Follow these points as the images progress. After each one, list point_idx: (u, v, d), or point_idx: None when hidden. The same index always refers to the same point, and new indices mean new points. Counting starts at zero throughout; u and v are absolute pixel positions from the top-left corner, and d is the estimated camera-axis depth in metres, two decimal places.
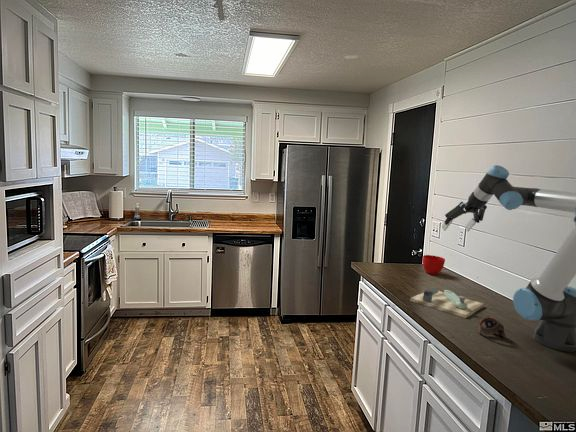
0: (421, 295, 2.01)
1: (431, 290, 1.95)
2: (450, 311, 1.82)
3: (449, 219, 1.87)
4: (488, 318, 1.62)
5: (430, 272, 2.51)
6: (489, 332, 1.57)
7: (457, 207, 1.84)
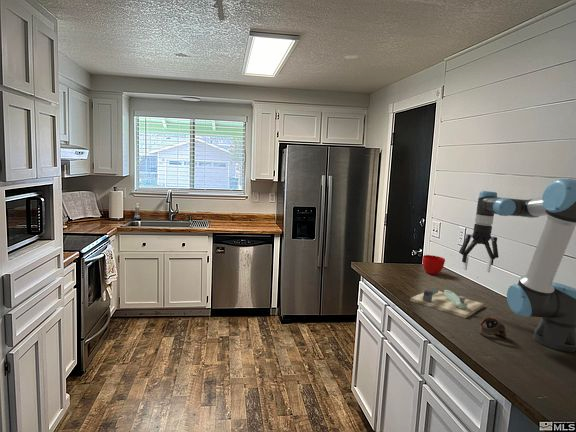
0: (421, 295, 2.01)
1: (431, 290, 1.95)
2: (450, 311, 1.82)
3: (464, 255, 1.91)
4: (489, 318, 1.62)
5: (430, 272, 2.51)
6: (490, 332, 1.57)
7: (465, 240, 1.92)
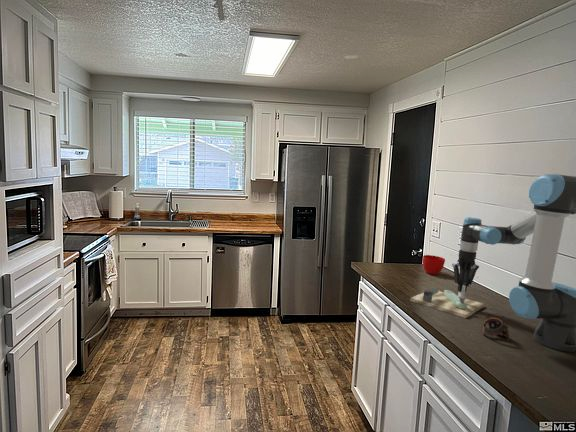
0: (421, 295, 2.01)
1: (431, 290, 1.95)
2: (450, 311, 1.82)
3: (460, 284, 1.94)
4: (492, 319, 1.61)
5: (430, 272, 2.51)
6: (493, 333, 1.56)
7: (454, 270, 1.93)
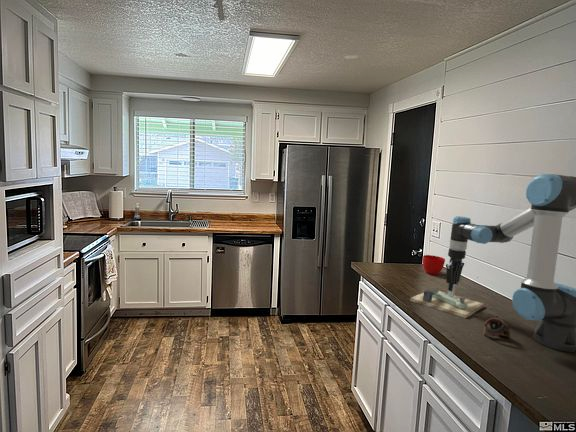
0: (421, 295, 2.01)
1: (431, 290, 1.95)
2: (450, 311, 1.82)
3: (452, 284, 1.93)
4: (493, 319, 1.61)
5: (430, 272, 2.51)
6: (495, 333, 1.56)
7: (448, 270, 1.91)
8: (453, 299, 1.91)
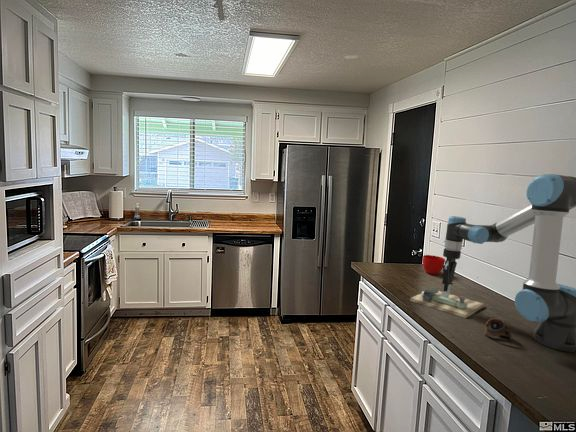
0: None
1: (431, 290, 1.95)
2: (450, 311, 1.82)
3: (447, 284, 1.92)
4: (494, 319, 1.61)
5: (430, 272, 2.51)
6: (496, 334, 1.56)
7: (445, 271, 1.89)
8: (451, 299, 1.90)
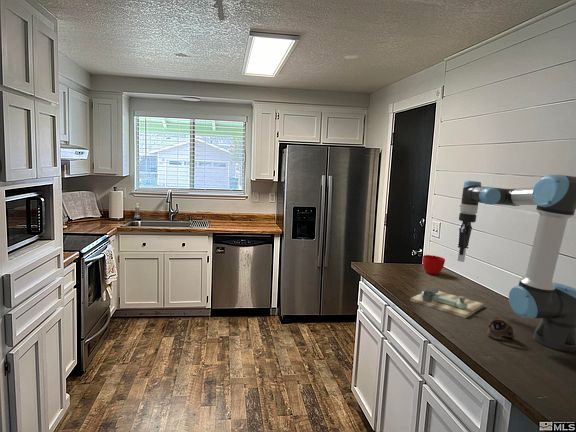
0: None
1: (431, 290, 1.95)
2: (450, 311, 1.82)
3: (463, 248, 1.95)
4: (497, 320, 1.61)
5: (430, 272, 2.51)
6: (499, 334, 1.56)
7: (461, 234, 1.93)
8: (451, 299, 1.90)
